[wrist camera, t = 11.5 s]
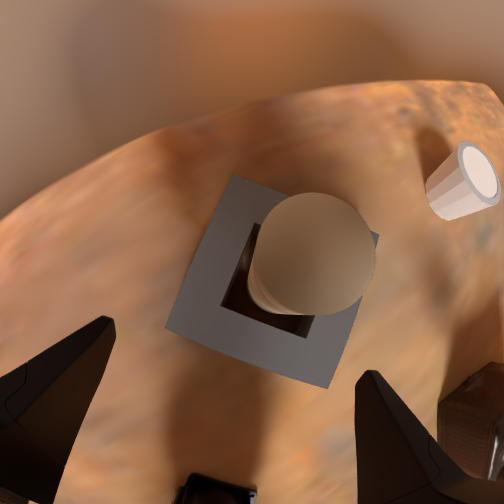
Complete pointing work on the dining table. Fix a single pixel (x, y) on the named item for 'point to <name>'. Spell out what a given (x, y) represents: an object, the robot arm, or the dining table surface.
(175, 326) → the socket
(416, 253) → the dining table surface
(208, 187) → the dining table surface
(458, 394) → the pepper mill
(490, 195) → the shot glass
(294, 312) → the peg
